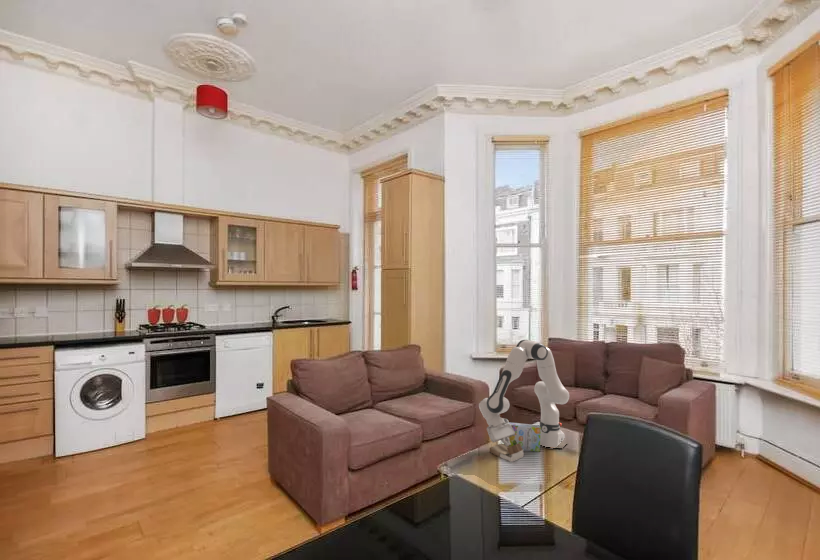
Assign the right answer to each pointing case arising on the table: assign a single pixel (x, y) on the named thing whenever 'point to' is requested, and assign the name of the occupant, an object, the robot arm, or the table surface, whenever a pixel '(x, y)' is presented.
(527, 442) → the snack box
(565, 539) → the table surface
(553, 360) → the robot arm
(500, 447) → the birch board
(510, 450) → the walnut block
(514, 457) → the tray
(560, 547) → the table surface
